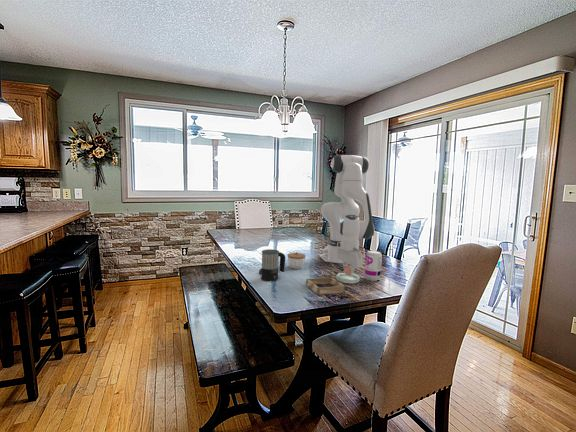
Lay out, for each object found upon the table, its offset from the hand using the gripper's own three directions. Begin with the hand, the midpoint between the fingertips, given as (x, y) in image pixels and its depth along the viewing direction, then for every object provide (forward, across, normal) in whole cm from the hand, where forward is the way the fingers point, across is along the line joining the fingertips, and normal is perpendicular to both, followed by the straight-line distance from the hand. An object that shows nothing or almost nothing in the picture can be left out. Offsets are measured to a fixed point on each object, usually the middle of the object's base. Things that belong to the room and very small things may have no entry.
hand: (348, 271), depth 159 cm
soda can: (+5, -2, -14) cm, 15 cm away
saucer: (+5, 0, 0) cm, 5 cm away
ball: (-1, 0, 0) cm, 1 cm away
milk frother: (+5, +16, +40) cm, 43 cm away
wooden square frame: (+5, -9, +18) cm, 21 cm away
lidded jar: (+5, +28, +19) cm, 34 cm away
